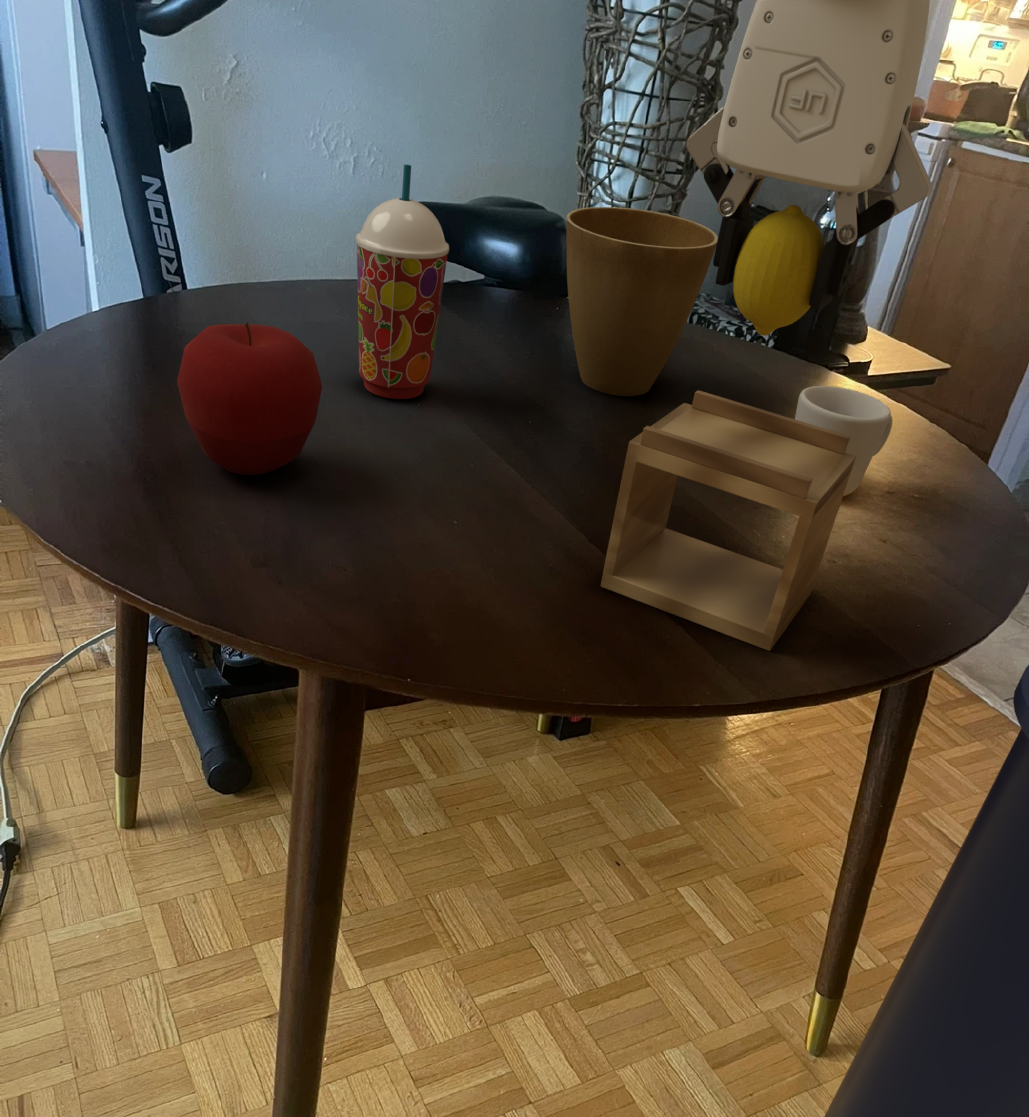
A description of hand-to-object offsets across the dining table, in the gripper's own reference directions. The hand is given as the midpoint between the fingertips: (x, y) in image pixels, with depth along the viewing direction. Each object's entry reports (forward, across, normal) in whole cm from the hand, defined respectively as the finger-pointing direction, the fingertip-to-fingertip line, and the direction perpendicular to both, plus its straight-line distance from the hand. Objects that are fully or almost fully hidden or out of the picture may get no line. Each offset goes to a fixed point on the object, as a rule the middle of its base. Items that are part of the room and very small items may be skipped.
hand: (774, 290), depth 68 cm
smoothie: (+21, -38, +14) cm, 46 cm away
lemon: (+3, 0, 0) cm, 3 cm away
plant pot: (+21, -23, +33) cm, 46 cm away
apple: (+21, -36, -9) cm, 43 cm away
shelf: (+21, +1, -2) cm, 21 cm away
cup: (+21, +3, +25) cm, 33 cm away
